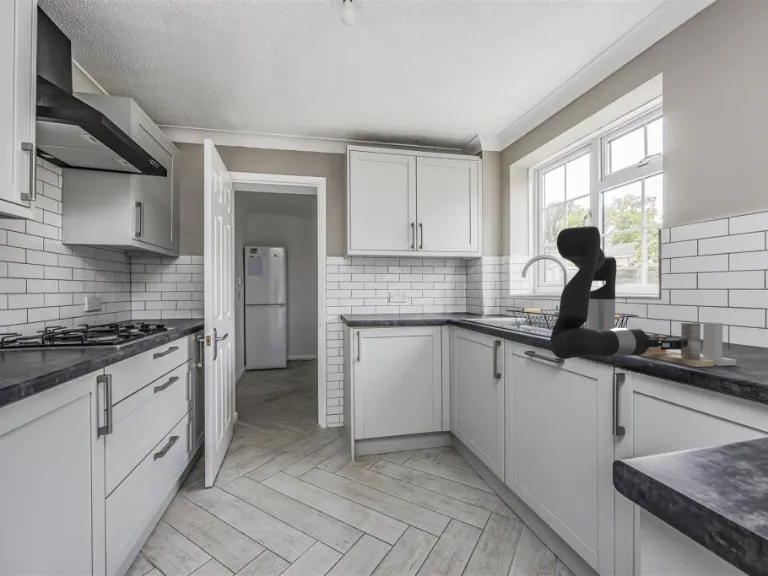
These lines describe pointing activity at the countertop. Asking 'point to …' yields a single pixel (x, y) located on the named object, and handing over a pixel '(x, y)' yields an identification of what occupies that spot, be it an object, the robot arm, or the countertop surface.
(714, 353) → the grey upright bracket
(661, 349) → the terracotta cube
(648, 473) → the countertop surface
